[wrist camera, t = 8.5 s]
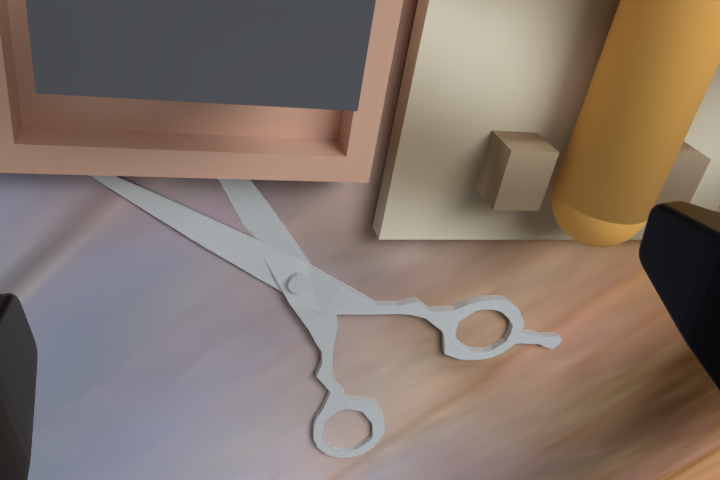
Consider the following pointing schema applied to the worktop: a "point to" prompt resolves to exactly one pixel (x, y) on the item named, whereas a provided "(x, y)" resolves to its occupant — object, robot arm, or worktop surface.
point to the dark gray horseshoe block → (203, 50)
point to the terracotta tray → (186, 124)
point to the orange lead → (635, 116)
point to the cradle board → (508, 121)
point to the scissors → (319, 292)
